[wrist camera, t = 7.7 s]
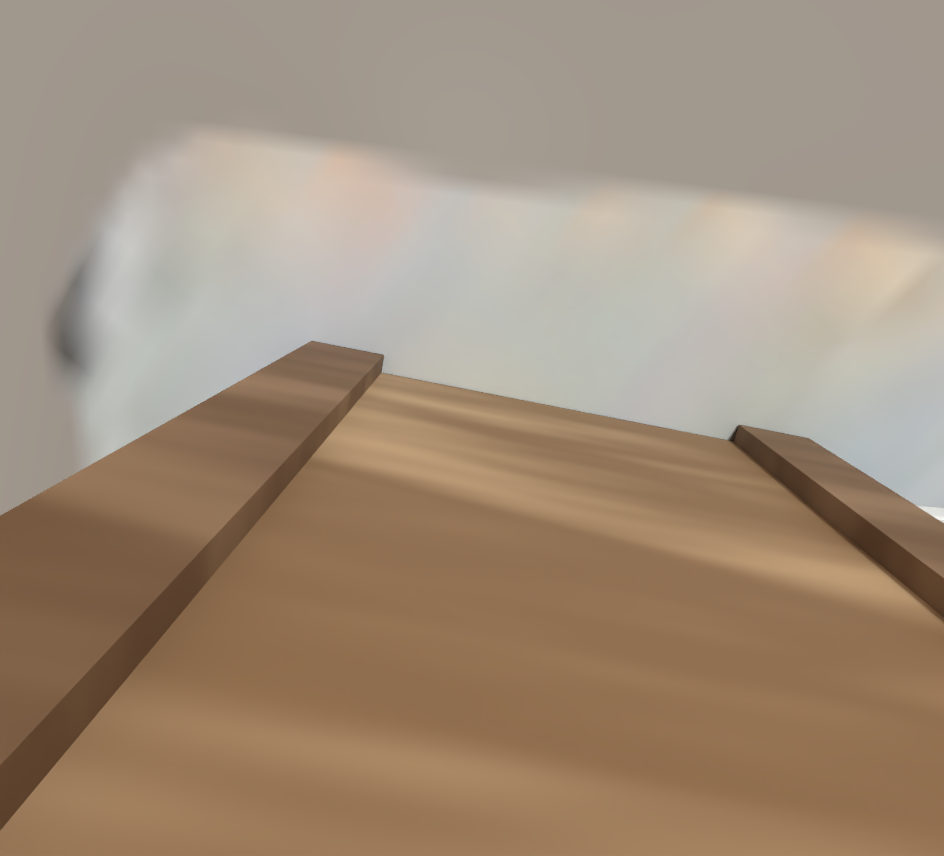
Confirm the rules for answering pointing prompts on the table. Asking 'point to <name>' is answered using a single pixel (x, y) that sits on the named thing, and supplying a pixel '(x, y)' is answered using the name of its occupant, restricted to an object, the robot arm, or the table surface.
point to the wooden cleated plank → (466, 636)
